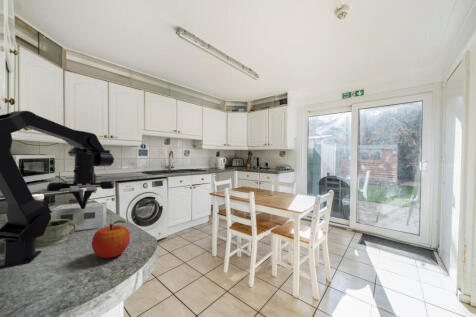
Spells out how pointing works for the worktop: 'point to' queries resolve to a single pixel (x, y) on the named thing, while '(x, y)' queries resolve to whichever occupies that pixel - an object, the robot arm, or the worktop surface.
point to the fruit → (111, 240)
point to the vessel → (56, 232)
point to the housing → (82, 215)
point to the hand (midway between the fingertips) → (83, 208)
